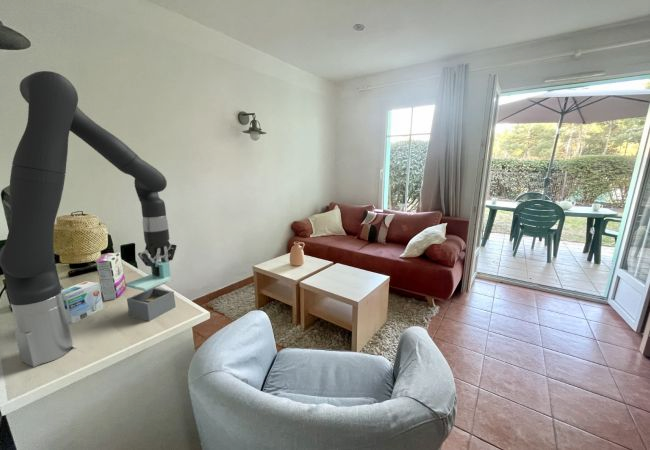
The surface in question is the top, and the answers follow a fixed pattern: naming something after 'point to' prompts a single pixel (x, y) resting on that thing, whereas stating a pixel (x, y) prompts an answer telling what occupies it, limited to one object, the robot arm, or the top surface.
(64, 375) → the top surface
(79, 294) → the light bulb box
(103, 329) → the top surface
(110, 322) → the top surface
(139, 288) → the lid
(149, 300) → the wood block
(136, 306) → the tub
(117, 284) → the candy bar box
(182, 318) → the top surface
